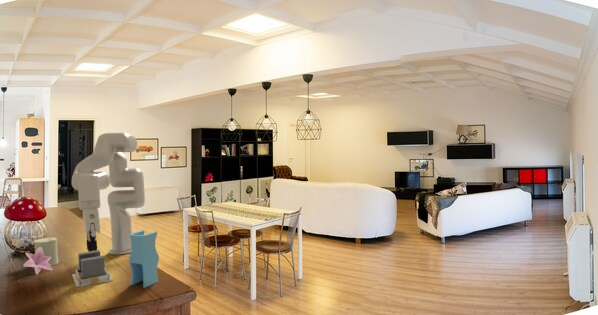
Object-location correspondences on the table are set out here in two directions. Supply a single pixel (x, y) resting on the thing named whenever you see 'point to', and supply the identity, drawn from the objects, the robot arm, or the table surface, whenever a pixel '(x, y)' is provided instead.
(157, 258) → the blue tall curved block
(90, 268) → the panel
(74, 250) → the table surface
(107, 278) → the rack
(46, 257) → the lily
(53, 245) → the can
